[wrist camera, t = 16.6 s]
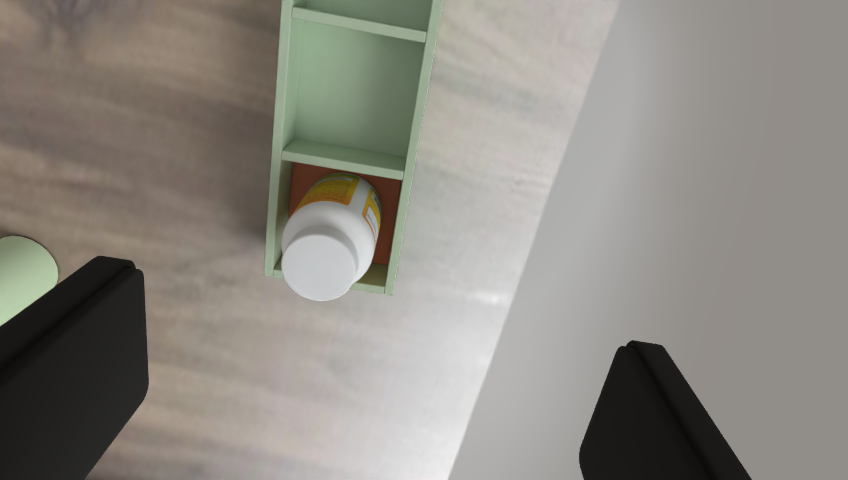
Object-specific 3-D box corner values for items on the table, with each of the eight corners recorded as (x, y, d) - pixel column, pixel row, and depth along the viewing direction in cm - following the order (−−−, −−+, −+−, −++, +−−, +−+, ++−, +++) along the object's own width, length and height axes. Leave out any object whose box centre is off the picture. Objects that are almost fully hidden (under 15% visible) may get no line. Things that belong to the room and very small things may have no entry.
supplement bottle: (290, 213, 38) (247, 275, 29) (335, 154, 36) (303, 200, 27) (353, 257, 39) (330, 330, 30) (398, 202, 37) (389, 262, 28)
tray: (462, -119, 31) (467, -138, 27) (395, 269, 40) (392, 296, 36) (309, -150, 30) (292, -174, 26) (279, 251, 39) (263, 275, 36)
